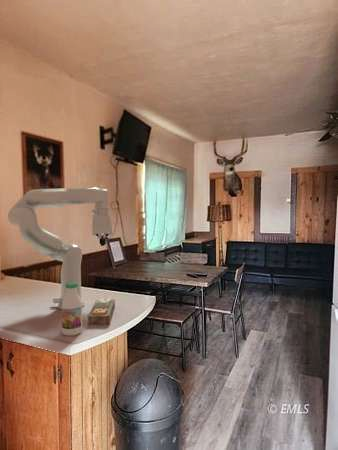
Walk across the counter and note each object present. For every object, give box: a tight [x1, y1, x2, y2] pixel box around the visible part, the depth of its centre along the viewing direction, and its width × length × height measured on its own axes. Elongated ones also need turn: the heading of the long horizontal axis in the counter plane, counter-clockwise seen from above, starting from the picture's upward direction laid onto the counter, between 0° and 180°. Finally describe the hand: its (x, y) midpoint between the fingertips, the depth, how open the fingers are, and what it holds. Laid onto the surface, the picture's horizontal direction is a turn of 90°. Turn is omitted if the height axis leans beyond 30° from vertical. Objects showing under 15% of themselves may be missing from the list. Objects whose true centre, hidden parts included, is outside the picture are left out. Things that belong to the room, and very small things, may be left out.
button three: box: [93, 308, 107, 315], centre depth 137 cm, size 5×5×5 cm
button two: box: [95, 298, 109, 309], centre depth 144 cm, size 5×5×5 cm
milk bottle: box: [61, 282, 83, 337], centre depth 125 cm, size 8×8×20 cm
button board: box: [87, 298, 116, 327], centre depth 144 cm, size 9×24×4 cm, turn 5°
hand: (102, 245), depth 171 cm, fingers closed
